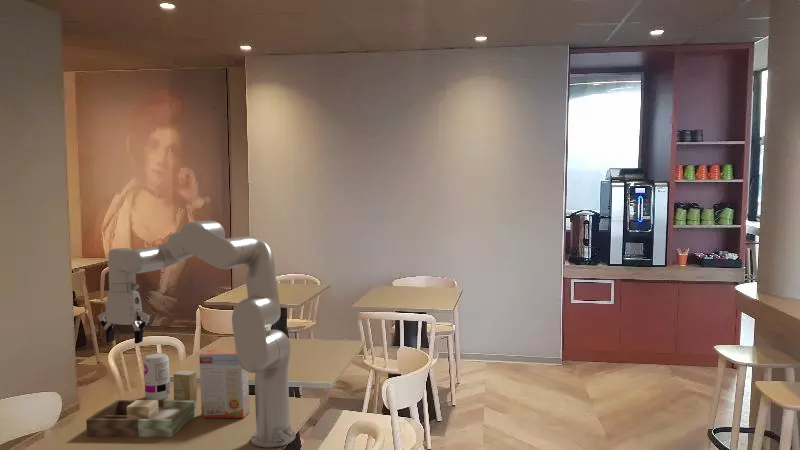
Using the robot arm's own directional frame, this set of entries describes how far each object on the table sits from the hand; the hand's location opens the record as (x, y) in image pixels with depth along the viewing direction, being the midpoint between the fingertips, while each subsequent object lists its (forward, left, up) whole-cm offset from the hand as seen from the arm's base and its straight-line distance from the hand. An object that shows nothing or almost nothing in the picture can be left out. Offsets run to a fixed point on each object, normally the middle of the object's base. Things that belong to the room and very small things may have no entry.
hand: (124, 342), depth 187 cm
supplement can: (+16, -16, -26) cm, 35 cm away
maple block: (-7, -2, -23) cm, 24 cm away
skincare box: (-2, -18, -26) cm, 32 cm away
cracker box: (-18, -24, -26) cm, 40 cm away
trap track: (-7, -2, -26) cm, 27 cm away
